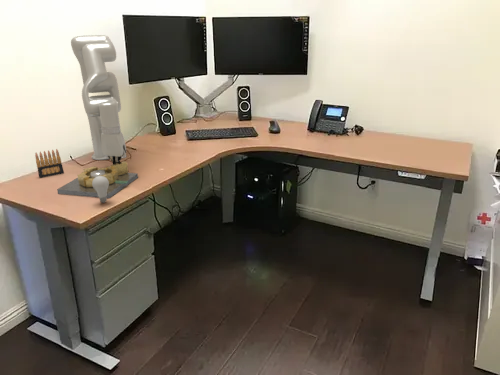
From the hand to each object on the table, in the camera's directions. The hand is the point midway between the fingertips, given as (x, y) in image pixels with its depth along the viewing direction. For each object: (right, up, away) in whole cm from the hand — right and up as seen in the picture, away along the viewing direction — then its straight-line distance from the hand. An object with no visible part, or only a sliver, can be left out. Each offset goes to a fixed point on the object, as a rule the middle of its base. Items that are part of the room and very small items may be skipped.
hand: (117, 169), depth 191 cm
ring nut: (-3, -4, -7) cm, 9 cm away
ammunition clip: (-32, -3, +5) cm, 33 cm away
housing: (-5, -7, -8) cm, 12 cm away
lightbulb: (+3, -14, -25) cm, 29 cm away
